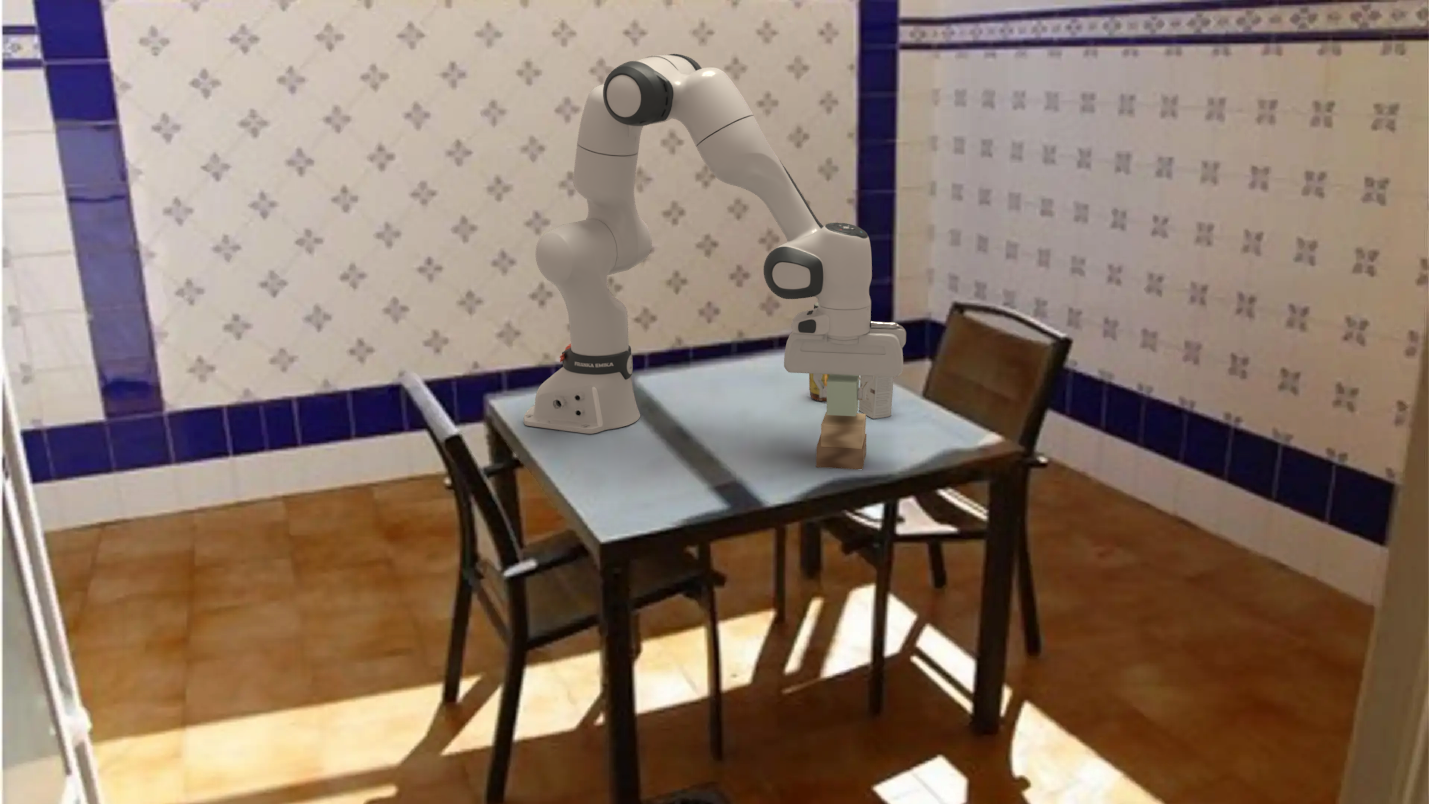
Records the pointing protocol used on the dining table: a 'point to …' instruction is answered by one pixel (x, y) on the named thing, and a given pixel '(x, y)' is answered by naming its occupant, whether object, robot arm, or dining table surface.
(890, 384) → the skincare box
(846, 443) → the tower top
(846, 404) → the green block
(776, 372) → the dining table surface
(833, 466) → the tower base
